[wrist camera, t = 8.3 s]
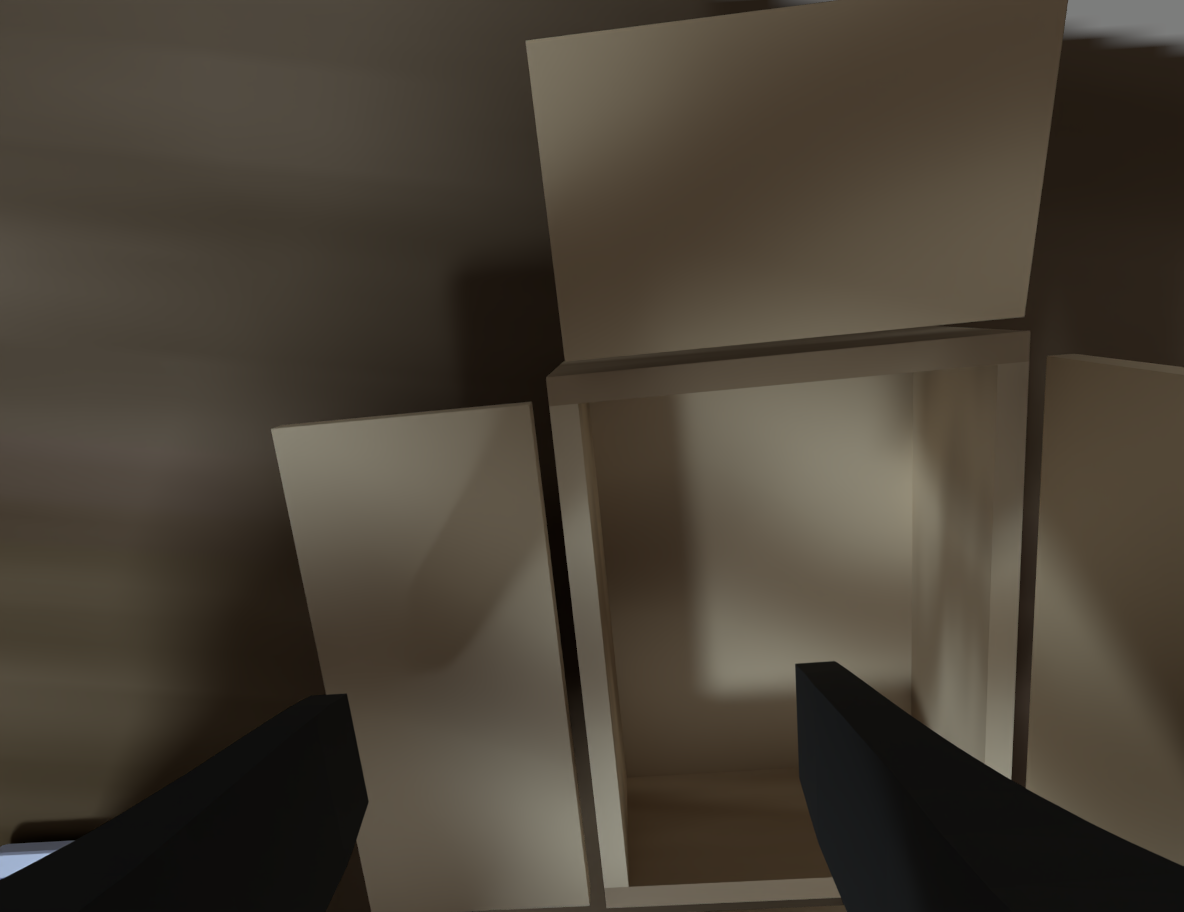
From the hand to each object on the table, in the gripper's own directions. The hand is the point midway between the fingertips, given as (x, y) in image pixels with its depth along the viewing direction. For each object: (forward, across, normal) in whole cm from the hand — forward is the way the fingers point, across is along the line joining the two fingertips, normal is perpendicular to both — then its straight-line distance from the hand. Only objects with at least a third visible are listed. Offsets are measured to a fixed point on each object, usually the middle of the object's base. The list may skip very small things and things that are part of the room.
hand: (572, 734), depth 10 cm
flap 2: (-1, -8, 0) cm, 8 cm away
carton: (+5, -2, +2) cm, 6 cm away
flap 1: (+1, -4, -8) cm, 9 cm away
